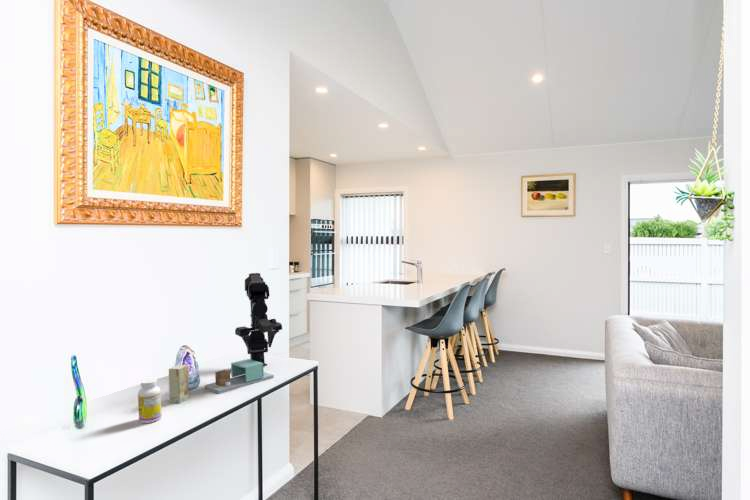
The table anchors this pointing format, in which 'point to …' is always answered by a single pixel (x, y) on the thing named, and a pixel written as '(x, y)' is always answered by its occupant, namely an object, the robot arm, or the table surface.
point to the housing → (247, 369)
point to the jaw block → (222, 377)
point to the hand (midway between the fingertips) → (259, 349)
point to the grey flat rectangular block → (236, 383)
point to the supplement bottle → (149, 401)
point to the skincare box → (178, 383)
